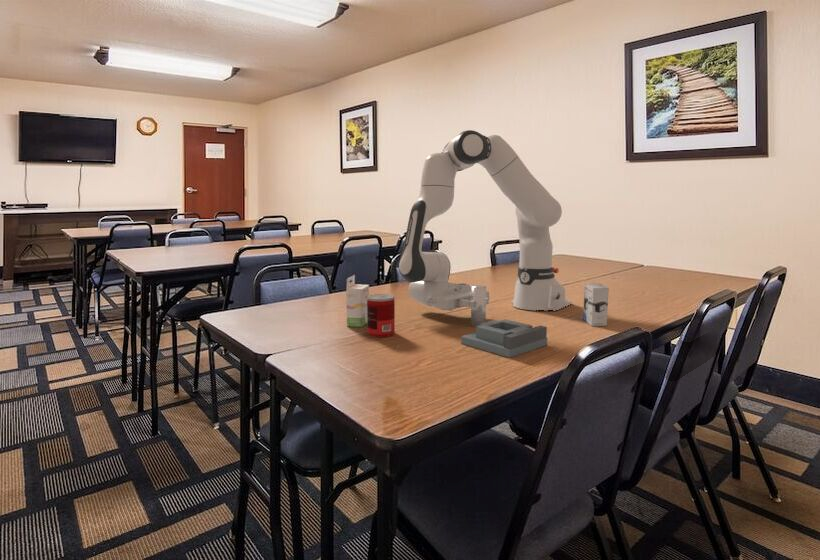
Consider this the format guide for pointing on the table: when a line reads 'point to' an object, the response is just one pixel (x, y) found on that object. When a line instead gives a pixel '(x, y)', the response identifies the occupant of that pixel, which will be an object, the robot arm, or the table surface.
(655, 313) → the table surface
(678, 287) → the table surface
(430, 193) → the robot arm
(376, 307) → the canned food
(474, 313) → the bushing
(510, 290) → the table surface
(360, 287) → the ink box
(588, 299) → the ink box
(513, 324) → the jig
